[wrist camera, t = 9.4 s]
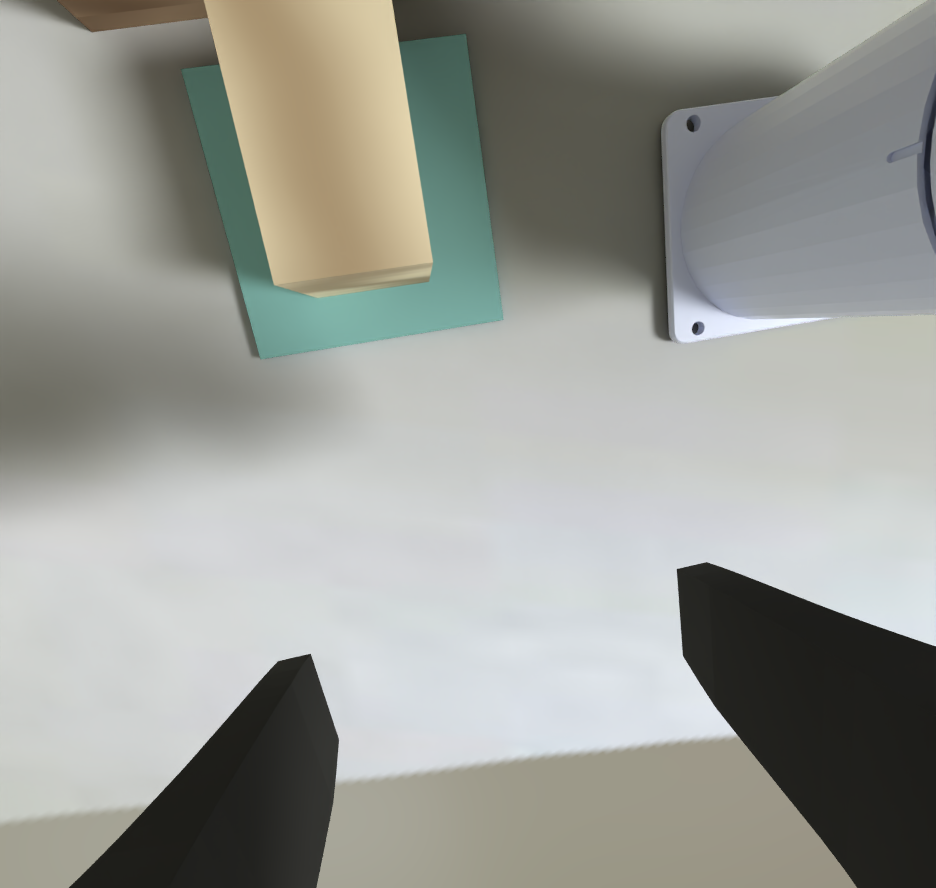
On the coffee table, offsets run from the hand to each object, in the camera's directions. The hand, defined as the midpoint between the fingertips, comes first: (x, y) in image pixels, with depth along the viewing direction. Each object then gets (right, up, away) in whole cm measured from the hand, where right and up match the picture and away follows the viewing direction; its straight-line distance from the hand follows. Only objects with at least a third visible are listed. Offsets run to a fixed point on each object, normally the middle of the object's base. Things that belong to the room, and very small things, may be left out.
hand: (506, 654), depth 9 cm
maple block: (-5, +12, +7) cm, 15 cm away
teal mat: (-5, +12, +7) cm, 15 cm away
